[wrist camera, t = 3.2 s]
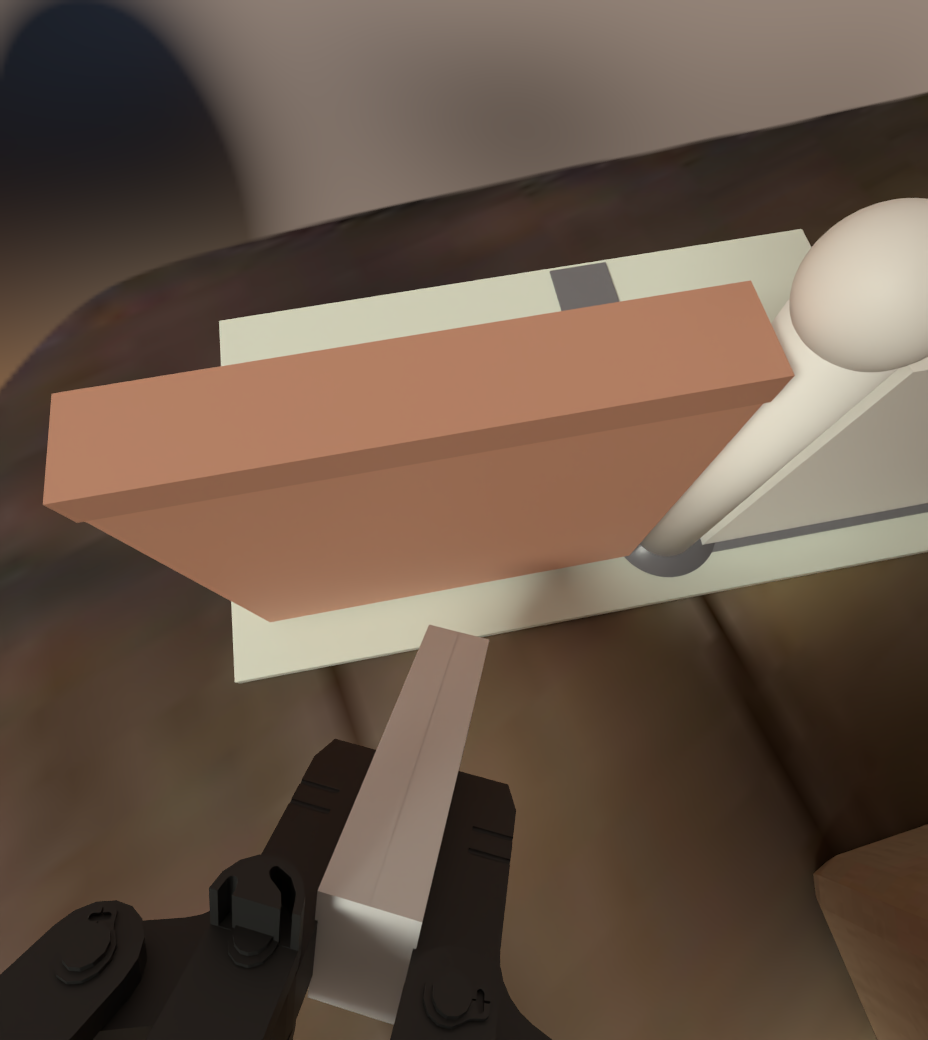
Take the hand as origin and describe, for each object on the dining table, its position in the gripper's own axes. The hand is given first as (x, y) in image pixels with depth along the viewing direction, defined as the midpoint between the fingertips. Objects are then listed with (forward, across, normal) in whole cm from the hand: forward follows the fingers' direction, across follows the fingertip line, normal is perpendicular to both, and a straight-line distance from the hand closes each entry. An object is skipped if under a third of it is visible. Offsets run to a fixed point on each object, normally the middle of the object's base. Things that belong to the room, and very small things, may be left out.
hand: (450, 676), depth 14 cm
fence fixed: (+9, -10, -3) cm, 14 cm away
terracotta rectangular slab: (+5, +1, 0) cm, 6 cm away
